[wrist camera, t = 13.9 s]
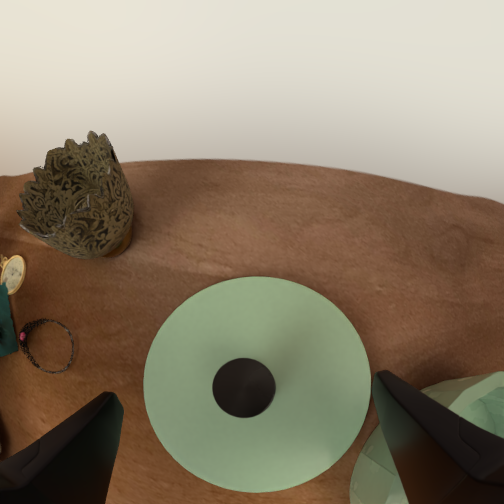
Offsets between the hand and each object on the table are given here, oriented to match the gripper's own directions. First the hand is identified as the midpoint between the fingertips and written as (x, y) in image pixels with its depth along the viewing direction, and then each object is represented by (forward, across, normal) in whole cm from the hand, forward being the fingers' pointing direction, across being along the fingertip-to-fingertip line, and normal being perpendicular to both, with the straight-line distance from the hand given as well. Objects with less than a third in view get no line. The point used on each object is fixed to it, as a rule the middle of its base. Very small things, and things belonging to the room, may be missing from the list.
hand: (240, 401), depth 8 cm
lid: (+5, 0, +5) cm, 7 cm away
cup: (+14, +10, -3) cm, 17 cm away
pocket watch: (+13, +23, -2) cm, 26 cm away
